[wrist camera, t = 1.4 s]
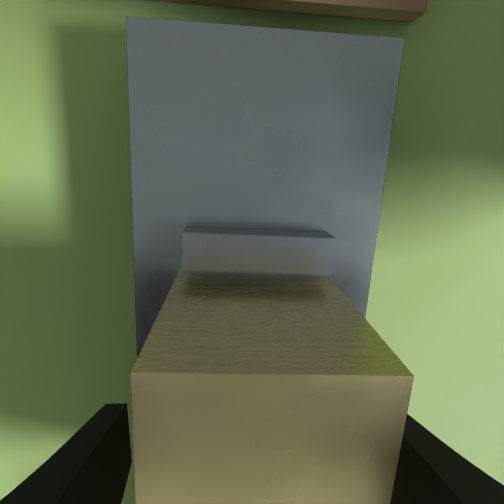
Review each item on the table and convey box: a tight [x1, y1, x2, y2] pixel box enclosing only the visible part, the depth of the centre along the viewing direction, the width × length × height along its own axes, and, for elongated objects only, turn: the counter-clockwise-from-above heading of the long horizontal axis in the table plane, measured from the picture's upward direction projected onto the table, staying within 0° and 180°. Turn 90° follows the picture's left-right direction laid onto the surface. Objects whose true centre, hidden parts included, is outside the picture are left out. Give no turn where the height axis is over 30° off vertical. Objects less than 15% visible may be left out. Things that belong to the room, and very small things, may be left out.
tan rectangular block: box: [131, 273, 414, 504], centre depth 9 cm, size 4×9×5 cm, turn 177°
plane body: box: [126, 16, 405, 358], centre depth 11 cm, size 7×22×7 cm, turn 177°
